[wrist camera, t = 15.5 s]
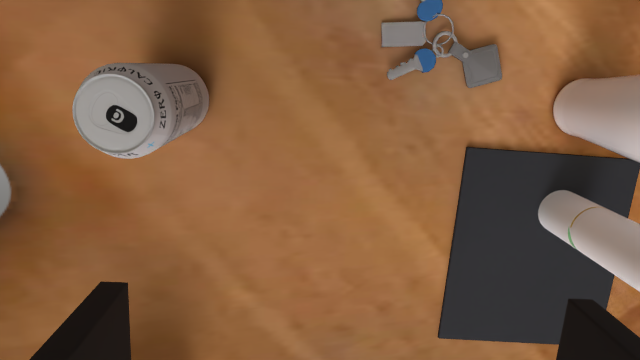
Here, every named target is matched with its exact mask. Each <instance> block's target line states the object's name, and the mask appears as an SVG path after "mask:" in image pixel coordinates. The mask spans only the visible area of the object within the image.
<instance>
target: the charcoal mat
mask: <svg viewBox="0 0 640 360" xmlns="http://www.w3.org/2000/svg"><path fill="white" fill-rule="evenodd" d="M639 169H640V163H639V162H636V161H634V160H631V159H623V158H609V157H596V156H582V155H568V154H555V153H541V152H528V151H514V150H500V149H487V148H473V147H466V154H465V160H464V167H463V173H462V180H461V187H460V193H459V200H458V206H457V213H456V220H455V226H454V233H453V240H452V246H451V253H450V259H449V266H448V273H447V279H446V286H445V293H444V299H443V306H442V312H441V319H440V326H439V332H438V337H439V338H443V339H463V340H482V341H502V342H521V343H540V344H559V343H560V338H561V333H562V328H563V323H564V318H565V313H566V308H567V303H568V299H593V300H594V301H595V302H597V303H598V304H599V305H600V306H601V307H603V308H604V309H605V310H606V308H607V304H608V300H609V296H610V291H611V287H612V283H613V279H614V274H612V273H611V272H609V271H608V270H606V269H605V268H603V267H602V266H600V265H599V264H598V263H596V262H595V261H593V260H592V259H590V258H589V257H587V256H586V255H584V254H583V253H581V252H580V251H578V250H577V249H575V248H574V247H572V246H571V245H569V244H568V243H566V242H565V241H563V240H562V239H560V238H559V237H557V236H556V235H554V234H553V233H551V232H550V231H548V230H547V229H545V228H544V227H543V226H542V224H541V223H540V221H539V217H538V210H539V206H540V204H541V202H542V201H543V199H544V198H545V197H546V196H548V195H549V194H550V193H553V192H555V191H558V190H567V191H570V192H572V193H574V194H577V195H579V196H581V197H583V198H585V199H587V200H589V201H592V202H594V203H596V204H598V205H600V206H602V207H604V208H606V209H609V210H611V211H613V212H615V213H617V214H619V215H621V216H623V217H626V218H628V216H629V211H630V207H631V203H632V199H633V194H634V190H635V186H636V182H637V178H638V173H639Z"/></svg>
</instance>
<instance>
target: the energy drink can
mask: <svg viewBox="0 0 640 360" xmlns="http://www.w3.org/2000/svg"><path fill="white" fill-rule="evenodd" d="M208 106H209V95H208V90H207V88H206V85H205V83H204V82H203V80H202V79H201V77H200V76H199V75H198V74H197V73H196V72H194V71H193V70H192V69H190V68H188V67H186V66H183V65H179V64H153V63H113V64H107V65H104V66H102V67H99V68H97V69H96V70H94V71H93V72H91V73H90V74H89V75H88V76H87V77H86V78H85V79H84V81H83V82H82V84H81V86H80V87H79V90H78V91H77V93H76V96H75V98H74V102H73V118H74V122H75V125H76V127H77V129H78V131H79V133H80V134H81V136H82V137H83V138H84V139H85V140H86V141H87V142H88V143H89V144H90V145H92V146H93V147H95V148H96V149H98V150H101V151H102V152H104V153H106V154H109V155H111V156H114V157H118V158H128V159H131V158H138V157H142V156H145V155H147V154H149V153H151V152H153V151H155V150H156V149H158V148H160V147H162V146H163V145H165V144H167V143H169V142H170V141H172V140H174V139H176V138H177V137H179V136H181V135H183V134H184V133H186V132H188V131H190V130H191V129H193V128H195V127H196V126H197V125H199V124H200V123H201V122H202V120H203V119H204V117H205V116H206V113H207V111H208Z"/></svg>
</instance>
